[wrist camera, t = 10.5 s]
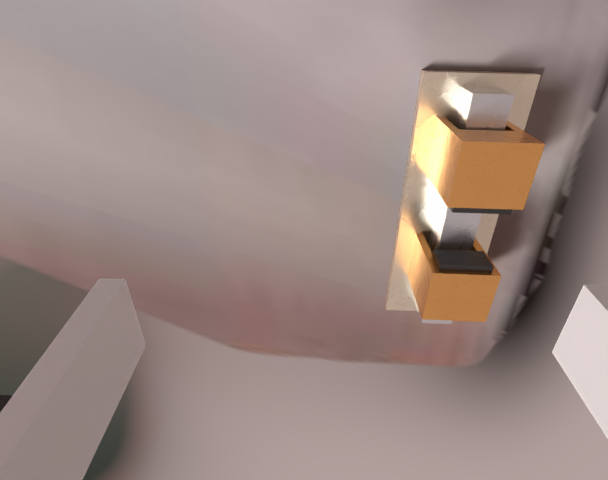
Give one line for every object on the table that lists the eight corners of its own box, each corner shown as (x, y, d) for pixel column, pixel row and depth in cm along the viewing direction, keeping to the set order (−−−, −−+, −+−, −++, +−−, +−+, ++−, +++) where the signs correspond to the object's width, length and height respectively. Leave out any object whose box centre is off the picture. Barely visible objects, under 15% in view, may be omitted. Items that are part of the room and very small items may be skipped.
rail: (421, 69, 32) (447, 86, 25) (534, 72, 32) (590, 90, 25) (384, 303, 44) (396, 355, 38) (466, 306, 44) (492, 358, 38)
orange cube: (417, 228, 38) (434, 267, 33) (476, 230, 38) (503, 269, 32) (407, 276, 41) (421, 319, 35) (462, 278, 41) (485, 321, 35)
